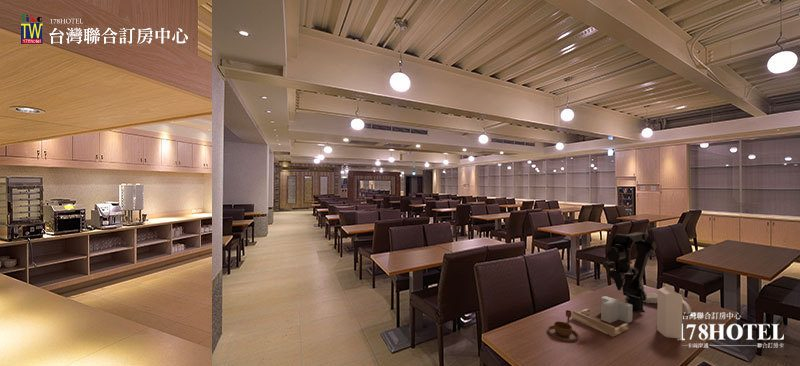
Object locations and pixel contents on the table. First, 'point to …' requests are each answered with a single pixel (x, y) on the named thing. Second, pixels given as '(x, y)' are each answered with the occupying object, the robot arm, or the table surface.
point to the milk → (669, 312)
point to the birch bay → (598, 323)
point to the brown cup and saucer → (564, 330)
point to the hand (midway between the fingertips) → (622, 288)
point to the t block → (615, 310)
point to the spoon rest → (654, 299)
